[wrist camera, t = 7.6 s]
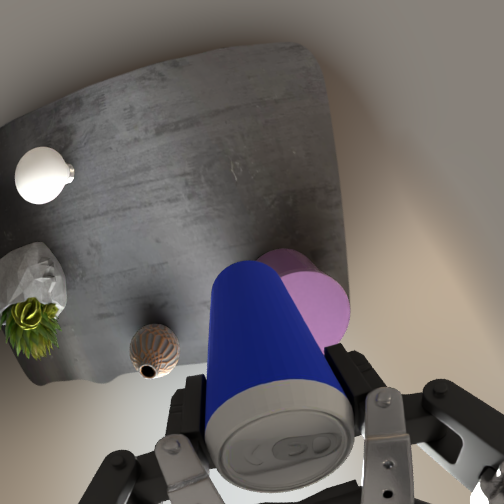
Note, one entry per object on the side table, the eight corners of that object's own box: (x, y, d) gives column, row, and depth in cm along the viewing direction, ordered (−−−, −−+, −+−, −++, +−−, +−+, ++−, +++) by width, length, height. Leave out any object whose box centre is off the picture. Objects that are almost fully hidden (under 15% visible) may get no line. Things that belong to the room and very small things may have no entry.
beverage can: (217, 329, 24) (220, 503, 9) (206, 263, 22) (186, 412, 8) (285, 319, 24) (356, 478, 9) (279, 253, 23) (370, 381, 8)
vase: (129, 344, 44) (114, 377, 36) (146, 308, 43) (131, 338, 35) (170, 364, 46) (163, 400, 37) (189, 330, 45) (184, 364, 36)
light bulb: (74, 206, 39) (33, 219, 28) (42, 181, 37) (-4, 187, 27) (97, 164, 38) (59, 164, 27) (64, 140, 36) (20, 134, 26)
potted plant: (65, 234, 36) (96, 348, 36) (47, 255, 44) (71, 344, 44) (-20, 250, 27) (13, 376, 27) (-19, 269, 35) (7, 365, 35)
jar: (314, 236, 43) (344, 259, 32) (325, 309, 46) (353, 349, 35) (233, 255, 42) (237, 285, 31) (251, 327, 45) (260, 374, 34)
